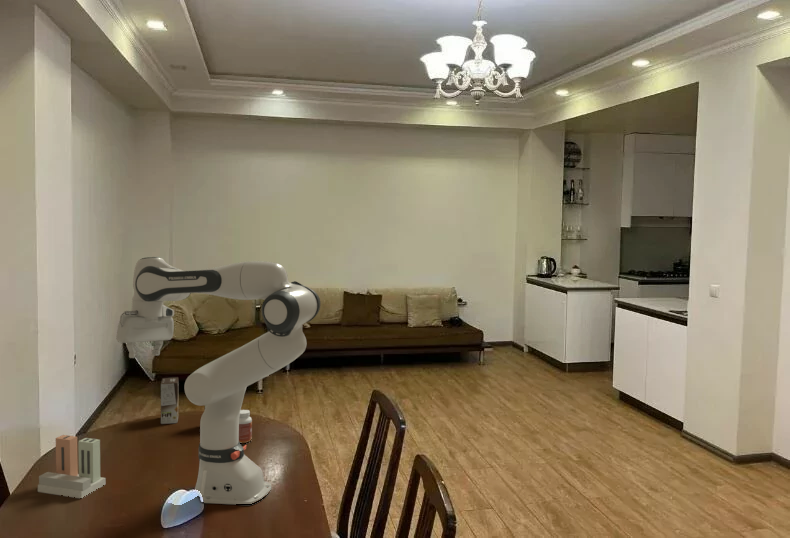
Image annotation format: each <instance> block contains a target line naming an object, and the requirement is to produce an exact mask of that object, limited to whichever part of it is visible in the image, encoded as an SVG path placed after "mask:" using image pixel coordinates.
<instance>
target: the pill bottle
mask: <svg viewBox="0 0 790 538" xmlns="http://www.w3.org/2000/svg"><path fill="white" fill-rule="evenodd" d="M250 415H251V411H250V410H249V409H241V410H240V416H239V442H240V443H242V442H248V441H250V440H251V439H252V440H253V419H252V417H251V416H250ZM252 440H251V441H252Z"/></svg>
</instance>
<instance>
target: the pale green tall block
mask: <svg viewBox="0 0 790 538" xmlns="http://www.w3.org/2000/svg"><path fill="white" fill-rule="evenodd" d="M77 451H78V474H79V477H85V478H91V482H93V483H94V482H95V481H97V480H99V479H100V477H101V439H98V438H89V437H84V438H82V439H79V440H77Z"/></svg>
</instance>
